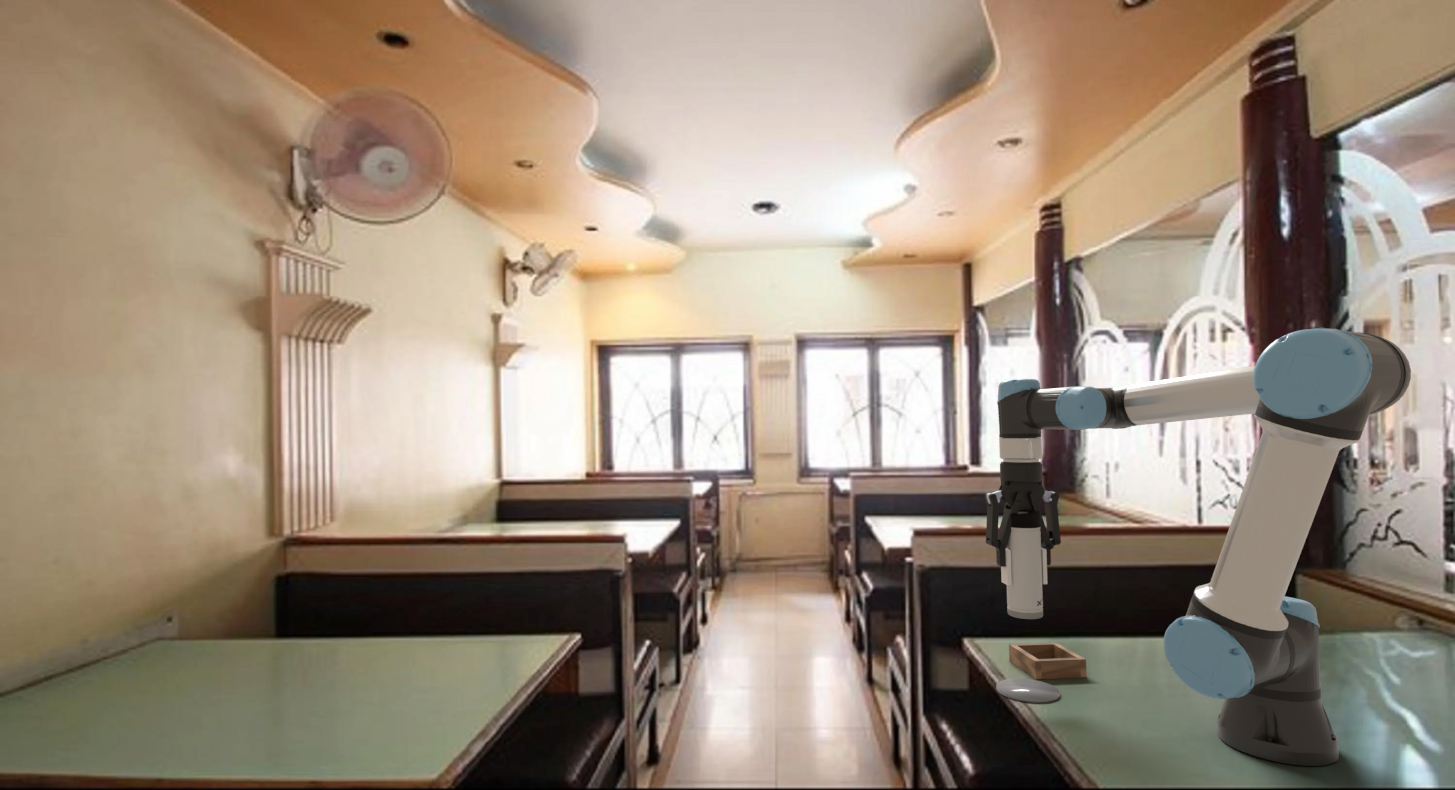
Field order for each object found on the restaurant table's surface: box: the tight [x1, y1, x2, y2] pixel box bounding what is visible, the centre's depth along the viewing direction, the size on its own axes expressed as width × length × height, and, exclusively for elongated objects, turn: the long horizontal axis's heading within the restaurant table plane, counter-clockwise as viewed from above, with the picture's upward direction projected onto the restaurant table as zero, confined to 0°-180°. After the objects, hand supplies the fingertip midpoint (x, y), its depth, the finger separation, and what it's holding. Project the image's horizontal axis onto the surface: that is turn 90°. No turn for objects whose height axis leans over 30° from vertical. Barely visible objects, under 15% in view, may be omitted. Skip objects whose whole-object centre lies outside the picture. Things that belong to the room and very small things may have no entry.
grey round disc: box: [995, 678, 1061, 704], centre depth 139 cm, size 11×11×1 cm
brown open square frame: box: [1008, 642, 1088, 680], centre depth 151 cm, size 11×10×4 cm
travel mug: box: [1006, 509, 1044, 620], centre depth 140 cm, size 6×7×20 cm
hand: (1024, 583), depth 139 cm, fingers closed on travel mug, 6 cm apart
